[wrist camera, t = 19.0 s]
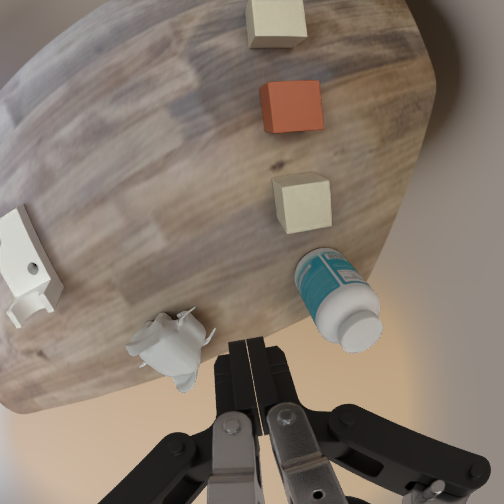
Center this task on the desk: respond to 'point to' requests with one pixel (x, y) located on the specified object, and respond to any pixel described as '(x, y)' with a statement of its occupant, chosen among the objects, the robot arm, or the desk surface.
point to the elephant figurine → (172, 347)
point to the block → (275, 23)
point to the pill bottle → (339, 300)
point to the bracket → (26, 268)
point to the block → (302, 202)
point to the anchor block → (291, 106)
